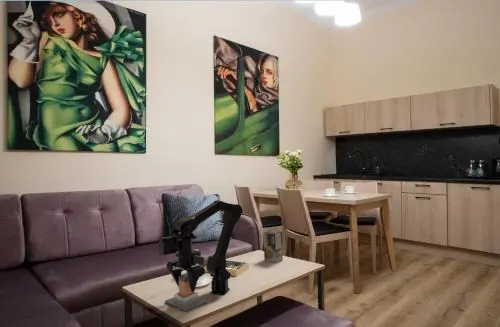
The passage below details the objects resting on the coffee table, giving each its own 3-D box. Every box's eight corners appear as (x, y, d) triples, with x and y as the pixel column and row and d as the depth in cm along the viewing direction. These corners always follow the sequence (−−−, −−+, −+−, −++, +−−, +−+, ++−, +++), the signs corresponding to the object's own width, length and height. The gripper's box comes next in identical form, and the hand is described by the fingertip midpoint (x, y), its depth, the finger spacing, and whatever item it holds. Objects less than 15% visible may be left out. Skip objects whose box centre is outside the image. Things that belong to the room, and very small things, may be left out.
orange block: (193, 300, 130) (192, 275, 130) (185, 303, 127) (184, 278, 127) (187, 297, 133) (186, 273, 133) (179, 301, 130) (178, 276, 130)
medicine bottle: (199, 276, 160) (198, 252, 160) (186, 275, 161) (185, 252, 161) (204, 271, 167) (203, 248, 167) (191, 271, 168) (190, 248, 168)
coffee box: (283, 260, 183) (282, 232, 183) (276, 263, 178) (275, 234, 178) (270, 257, 189) (270, 230, 189) (263, 260, 184) (263, 232, 184)
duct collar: (207, 302, 129) (207, 293, 129) (185, 312, 121) (185, 302, 121) (186, 294, 138) (186, 285, 138) (164, 302, 130) (164, 293, 130)
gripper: (214, 250, 129) (216, 288, 129) (187, 243, 142) (188, 278, 142) (192, 256, 121) (194, 297, 121) (165, 248, 134) (166, 285, 134)
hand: (185, 288), depth 130 cm, fingers open, 9 cm apart
